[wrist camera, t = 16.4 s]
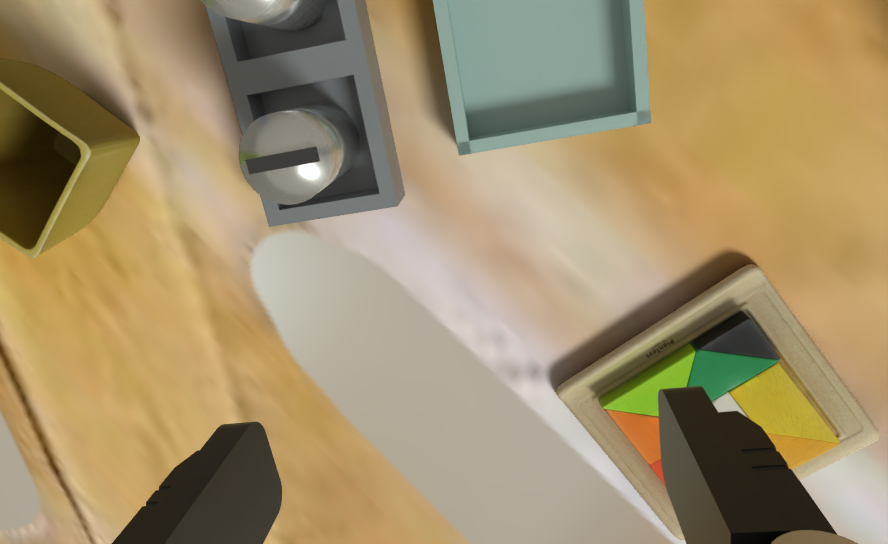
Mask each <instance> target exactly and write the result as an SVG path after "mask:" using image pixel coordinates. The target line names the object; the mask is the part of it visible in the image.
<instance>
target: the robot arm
mask: <svg viewBox="0 0 888 544" xmlns="http://www.w3.org/2000/svg"><path fill="white" fill-rule="evenodd" d="M658 411H659V432H660V452H661V465H662V471H663V477H664V481H665V486H666V489H667V492H668V495H669V498H670V501H671V503H672V506H673V509H674V511H675V514H676V517H677V519H678V522H679V525H680V527H681V530H682V533H683V535H684V538H685V541H686V543H687V544H858V543H856V542H854V541H852V540H849V539H847V538H845V537H842V536H839V535H837V533H836V532H835V531H834V529H833V528H832V526H831V525H830V524H829V522H828V521H827V519H826V518H825V516H824V515H823V514H822V512H821V511H820V509H819V508H818V506H817V505H816V504H815V502H814V501H813V499H812V498H811V496H810V495H809V494H808V492H807V491H806V489H805V488H804V487H803V485H802V484H801V482H800V481H799V479H798V478H797V477H796V475H795V474H794V472H793V471H792V469H789V468H788V464H787V462H786V461H785V460H784V458H783V457H782V455H781V454H780V452H779V451H777V450H776V447H775V445H774V444H773V442H772V441H771V440H770V438H769V437H768V435H767V434H766V432H765V431H764V430H763V428H762V427H761V426H759V425H758V424H756V423H755V422H753V421H752V420H750V419H749V418H747V417H746V416H744V415H743V414H741V413H740V412H738V411H728V412H718V411H717V410H716V408H715V406H714V405H713V403H712V401H711V400H710V398H709V396H708V395H707V393H706V392H705V390H704V388H703V387H702V386H693V387H681V388H669V389H660V390H659V392H658ZM281 501H282V486H281V481H280V478H279V474H278V471H277V468H276V465H275V461H274V458H273V455H272V452H271V448H270V445H269V442H268V439H267V435H266V432H265V430H264V428H263V426H262V425H261V424H260V423H259V422H247V423H235V424H224V425H221V426H220V427H218V428H217V430H216V431H215V432H214V433H213V435H212V436H211V437H210V438H209V440H208V441H207V442H206V443H205V445H204V446H203V447H202V448H201V450H200V451H196V452H195V453H194V454H192V455H191V456H190V457H188V458H187V459H186V460H184V461H183V462H182V463H180V464H179V465H178V466H176V467H175V468H174V469H173V471H172V472H171V473H170V474H169V475H168V477H167V478H166V479H165V480H164V481H163V483H162V484H161V485H160V486H159V490H156V491H155V492H154V493H153V495H152V496H151V497H150V498H149V499H148V501H147V502H146V506H144V507H142V508H141V509H140V510H139V511H138V513H137V514H136V515H135V516H134V517H133V519H132V520H131V521H130V522H129V524H128V525H127V526H126V527H125V528H124V530H123V531H122V532H121V533H120V534H119V536H118V537H117V538H116V539H115V540H114V542H113V543H112V544H263V542H264V540H265V538H266V536H267V535H268V533H269V531H270V529H271V527H272V525H273V523H274V521H275V519H276V517H277V515H278V513H279V510H280V506H281Z"/></svg>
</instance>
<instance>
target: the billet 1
mask: <svg viewBox="0 0 888 544" xmlns="http://www.w3.org/2000/svg"><path fill="white" fill-rule="evenodd" d="M201 2H202V3H203V4H204V5H205V6H207V7H208V8H209V9H211V10H212V11H214V12H215V13H217V14H219V15H222V16H224V17H228V18H232V19H236V20H241V21H245V22H249V23H254V24H258V25H263V26H267V27H271V28H276V29H280V30H285V31H300V30H304V29H306V28H308V27H310V26H312V25H313V24H314V23H315V22H317V21H318V19H319V18H320V17H321V16H322V14H323V12H324V10H325V8H326V5H327V2H328V0H201Z"/></svg>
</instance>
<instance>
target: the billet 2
mask: <svg viewBox="0 0 888 544" xmlns="http://www.w3.org/2000/svg"><path fill="white" fill-rule="evenodd" d="M359 152H360V135H359V131H358V129H357V126H356V124H355V123H354V121H353V120H352V118H351V117H350V116H349V115H348V114H347V113H346V112H345V111H344V110H342V109H341V108H339V107H337V106H335V105H332V104H327V103H315V104H310V105H306V106H301V107H297V108H293V109H288V110H284V111H279V112H275V113H271V114H267V115H264V116H262V117H260V118H258V119H256V120H255V121H254V122H252V123H251V124H250V125H249V127H248V128H247V129H246V131H245V132H244V134H243V136H242V139H241V142H240V147H239V161H240V165H241V169H242V172H243V174H244V176H245V178H246V180H247V181H248V183H249V184H250V185H251V187H252V188H253V189H254V190H255V191H256V192H257V193H258V194H260V195H261V196H262V197H264V198H266V199H268V200H270V201H272V202H275V203H278V204H284V205H292V204H298V203H302V202H305V201H307V200H309V199H310V198H312V197H313V196H315V195H316V194H317V193H319V192H320V191H321V190H323V189H324V188H325V187H327V186H328V185H329V184H331V183H332V182H333V181H335V180H336V179H337V178H339V177H340V176H341V175H343V174H344V173H346V172H347V171H348V170H349V169H350V168H351V167H352V166H353V165H354V163H355V162H356V160H357V158H358V155H359Z"/></svg>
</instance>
